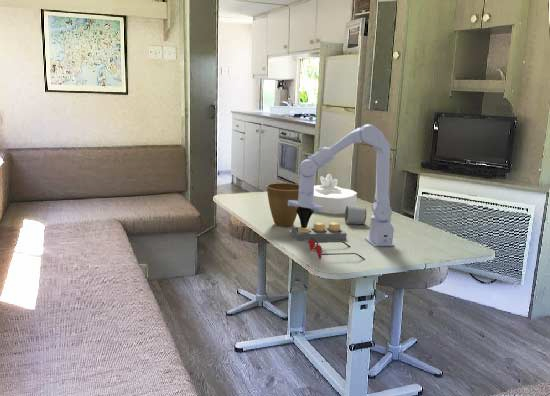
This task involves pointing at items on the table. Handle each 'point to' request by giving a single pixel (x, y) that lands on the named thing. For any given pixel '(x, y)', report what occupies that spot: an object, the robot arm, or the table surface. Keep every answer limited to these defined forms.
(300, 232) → the pale orange rounded lump
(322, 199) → the white decorated cake
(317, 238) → the board
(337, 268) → the table surface
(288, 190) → the plant pot
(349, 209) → the ceramic mug
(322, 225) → the tan rounded lump
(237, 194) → the table surface
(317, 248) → the glasses
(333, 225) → the tan rounded lump
